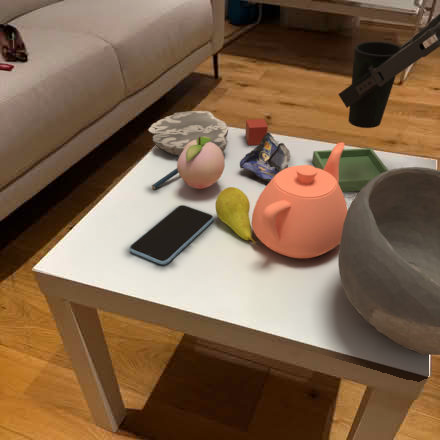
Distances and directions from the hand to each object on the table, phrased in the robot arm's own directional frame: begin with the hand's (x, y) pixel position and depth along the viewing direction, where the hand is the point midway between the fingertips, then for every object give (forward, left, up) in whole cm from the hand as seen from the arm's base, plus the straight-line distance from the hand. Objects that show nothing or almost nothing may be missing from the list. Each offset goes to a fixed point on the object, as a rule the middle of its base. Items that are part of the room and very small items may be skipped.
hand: (352, 92), depth 81 cm
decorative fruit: (+27, +3, -16) cm, 31 cm away
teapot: (+12, +19, -16) cm, 27 cm away
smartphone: (+33, +17, -16) cm, 40 cm away
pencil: (+36, +2, -15) cm, 39 cm away
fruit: (+23, +11, -11) cm, 28 cm away
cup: (-3, +2, -5) cm, 6 cm away
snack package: (+13, -3, -16) cm, 21 cm away
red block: (+13, -16, -16) cm, 26 cm away
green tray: (-3, +1, -16) cm, 16 cm away
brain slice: (+28, -16, -16) cm, 36 cm away
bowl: (+3, +38, -15) cm, 41 cm away
